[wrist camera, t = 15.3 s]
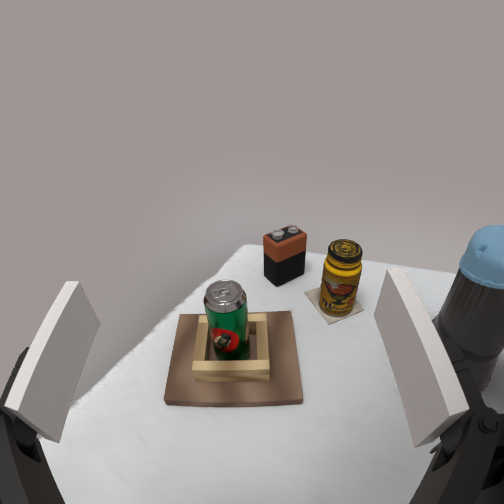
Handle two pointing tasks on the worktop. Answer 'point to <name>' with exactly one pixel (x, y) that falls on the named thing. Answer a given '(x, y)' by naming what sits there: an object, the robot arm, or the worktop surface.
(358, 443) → the worktop surface
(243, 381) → the collar board
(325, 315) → the condiment
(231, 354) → the soda can
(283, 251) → the battery
